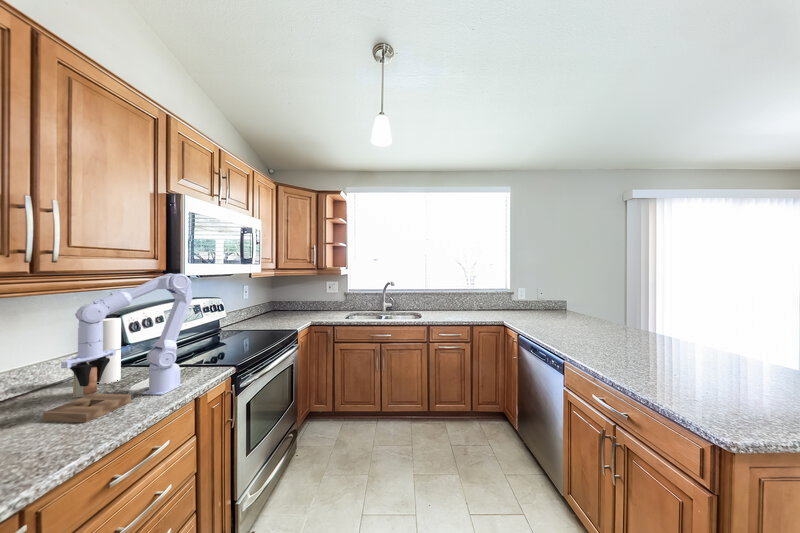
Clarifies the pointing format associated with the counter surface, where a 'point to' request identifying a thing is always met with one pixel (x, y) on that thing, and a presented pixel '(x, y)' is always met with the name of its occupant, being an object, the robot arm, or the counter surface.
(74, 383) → the skincare box
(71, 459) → the counter surface
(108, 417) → the counter surface
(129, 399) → the walnut socket plate
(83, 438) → the counter surface
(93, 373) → the terracotta peg
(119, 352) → the cylindrical container
